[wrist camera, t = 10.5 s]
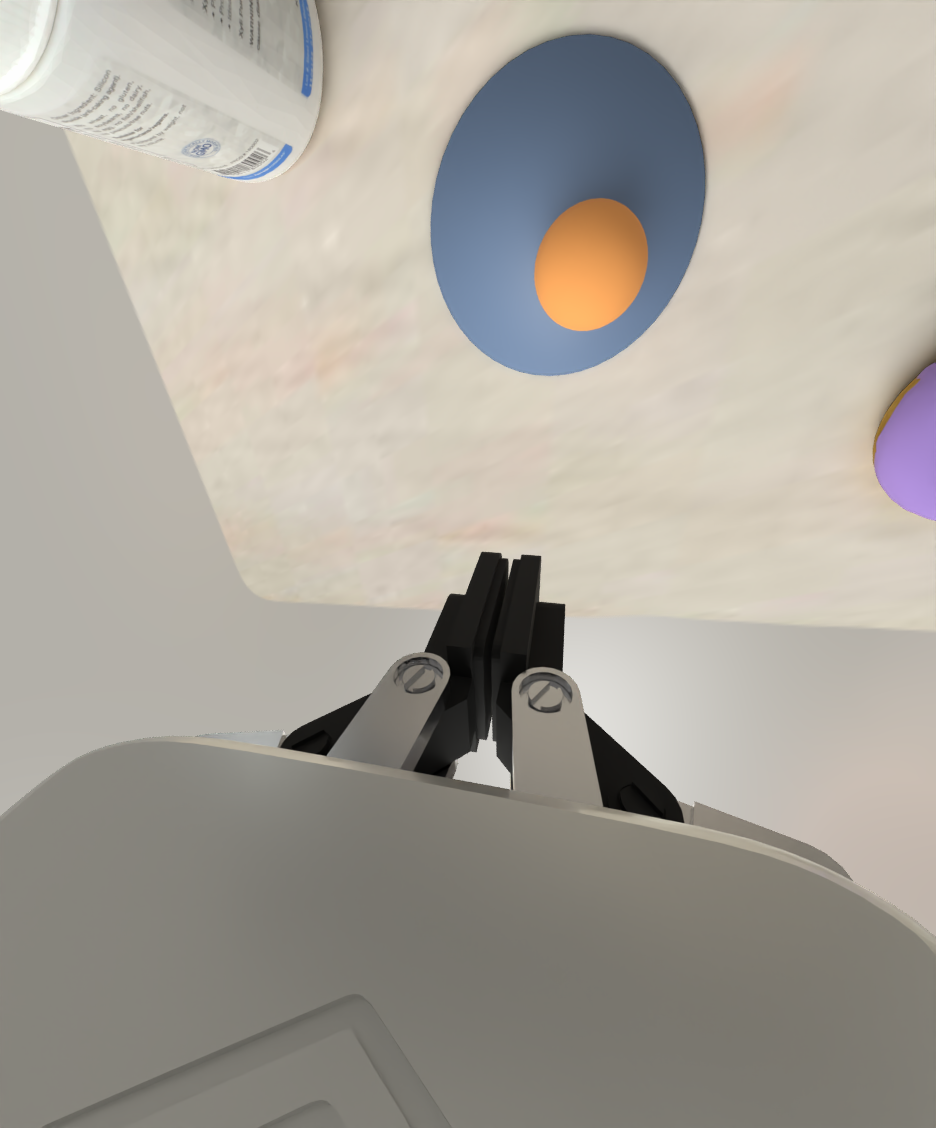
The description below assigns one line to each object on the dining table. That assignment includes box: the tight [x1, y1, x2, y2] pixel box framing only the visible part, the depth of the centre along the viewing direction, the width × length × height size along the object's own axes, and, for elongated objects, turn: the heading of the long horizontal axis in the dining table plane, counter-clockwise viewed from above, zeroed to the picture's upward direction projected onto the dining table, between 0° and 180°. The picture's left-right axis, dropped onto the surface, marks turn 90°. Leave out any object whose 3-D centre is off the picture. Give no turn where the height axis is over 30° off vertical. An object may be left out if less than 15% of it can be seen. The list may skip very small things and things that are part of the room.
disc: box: [431, 34, 705, 376], centre depth 21 cm, size 13×13×1 cm
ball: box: [534, 198, 648, 331], centre depth 20 cm, size 5×5×5 cm
